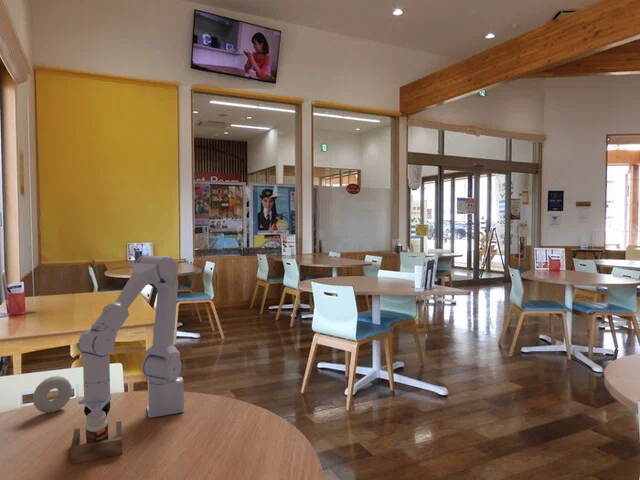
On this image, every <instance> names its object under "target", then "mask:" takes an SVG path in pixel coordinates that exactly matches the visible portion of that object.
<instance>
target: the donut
mask: <svg viewBox="0 0 640 480" xmlns="http://www.w3.org/2000/svg"><path fill="white" fill-rule="evenodd" d="M56 389H57V391H58V392H57V396H56V397H55V398H54V399H48V394H49V392H50V391H51V390H56ZM72 391H73V388H72V384H71V383H70V381H69V380H68V379H67V378H65V377H63V376H60V375H56V376H50V377H48V378H45V379H44V380H42V381H41V382H40V383H39V384H38V385H37V386H36V388H35V390H34V391H33V395H32V402H33V405H34V407H35V408H36V409H37V411H39V412H40V413H47V414H50V412H51V413H55V412H58V411H59V410H61V409H62V408H64V407H65V406H66V405H67V403H69V402H70V399H71V397H72V393H73V392H72Z"/></svg>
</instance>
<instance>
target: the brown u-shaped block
mask: <svg viewBox="0 0 640 480" xmlns="http://www.w3.org/2000/svg"><path fill="white" fill-rule="evenodd" d="M122 430H123V429H122V420H119V421H116V422H115V431H116V432H115V433H116V434H115V435H116V437H115V438H110V439H109V438H108V440H103V441H97V442H92V443H86V442H85V443H81V428H80V427H79V428H74V430H73V435H72V439H71V446H70V464H71V465H75V464H79V463H83V462H89V461H95V460H100V459H103V458H104V459H105V458H111V457H114V456H120V455H123V431H122Z"/></svg>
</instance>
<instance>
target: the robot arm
mask: <svg viewBox="0 0 640 480" xmlns="http://www.w3.org/2000/svg"><path fill="white" fill-rule="evenodd" d="M178 274H179V264H178V262H177V261H176V260H175V259H174V257H172V256H170V255H165V256H163V255H148V254H143V255H141V256H139V258H138V259H137V261H136V262H135V263H134V264H133V265H132V273H131V276H129V278H128V280H127V282H126V284H125V286H124V287H123V288H122V290H121V291H120V293H119V295H118V297H117V299H116V300H115V301H114V302H110V303H108V304H107V305H105V306H104V307H103V308H102V312H101V313H100V314H99V316H98V318H97V319H96V320H95V322H94V323H92V325H91V327H90V329H87V330H85V331H84V332H83V333H82V334H81V335H80V337H79V338H78V342H76V348H77V350H78V351H79V353H81V354H80V355H81V359H82V370H83V373H82V375H83V380H82V381H83V397H82V398H79V399H78V402H77V403H78V405H84V409H83V412H84V415H85V416H86V417H87V415H88V414H89V413H90V412H91V415H92V418H94V417H101V410H102V411H104V412H105V413H106V418H107V416H108V414H109V412H110V409H111V400H112V394H111V374H110V373H111V369H110V368H111V367H110V353H111V352H112V350H114V348H115V344H116V339H117V335H118V333H119V331H120V330H121V328H122V326H123V324H124V323H125V322H126V320H127V319H128V317H129V308H130V306H131V305H132V304H133V302H134V301H135V300H136V298H137V297H138V296H139V295H140V294H141V293H142V291H143V290H144V288H146V286H148V285H153V286H154V287H155V288H156V289H157V290H156V291H157V292H156V304H155V316H154V327H153V336H152V345H150V347H149V348H148V349H146V350H145V356H144V359H143V361H142V364H141V371H142V373H143V375H144V376H145V377H146V381H148V382H147V383H148V388H147V389H148V405H146V412H147V418H149V419H151V418H152V419H153V418H157V417H164V416H168V415H169V416H170V415H174V414H175V415H176V414H180V413H184V412H185V393H184V392H185V389H184V379H183V377H182V376H179V375H180V374H181V372H182V361H181V353H180V351H179V350H178V348H176V346H174V339H175V338H174V337H175V326H176V316H177V303H178V302H177V301H178V292H179V291H178V290H179V280H178Z"/></svg>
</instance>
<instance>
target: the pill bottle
mask: <svg viewBox="0 0 640 480" xmlns="http://www.w3.org/2000/svg"><path fill="white" fill-rule="evenodd" d="M84 427H85V440H86V441H85V444H86V443H92V442H97V441H103V440H108V439H109V420H108V419H107V417H106V413H105V412H104V411H102V410H101V417H94V418H92V415H91V412H90V413H89V414H88V415H87V416H86V423H85V426H84Z"/></svg>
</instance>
